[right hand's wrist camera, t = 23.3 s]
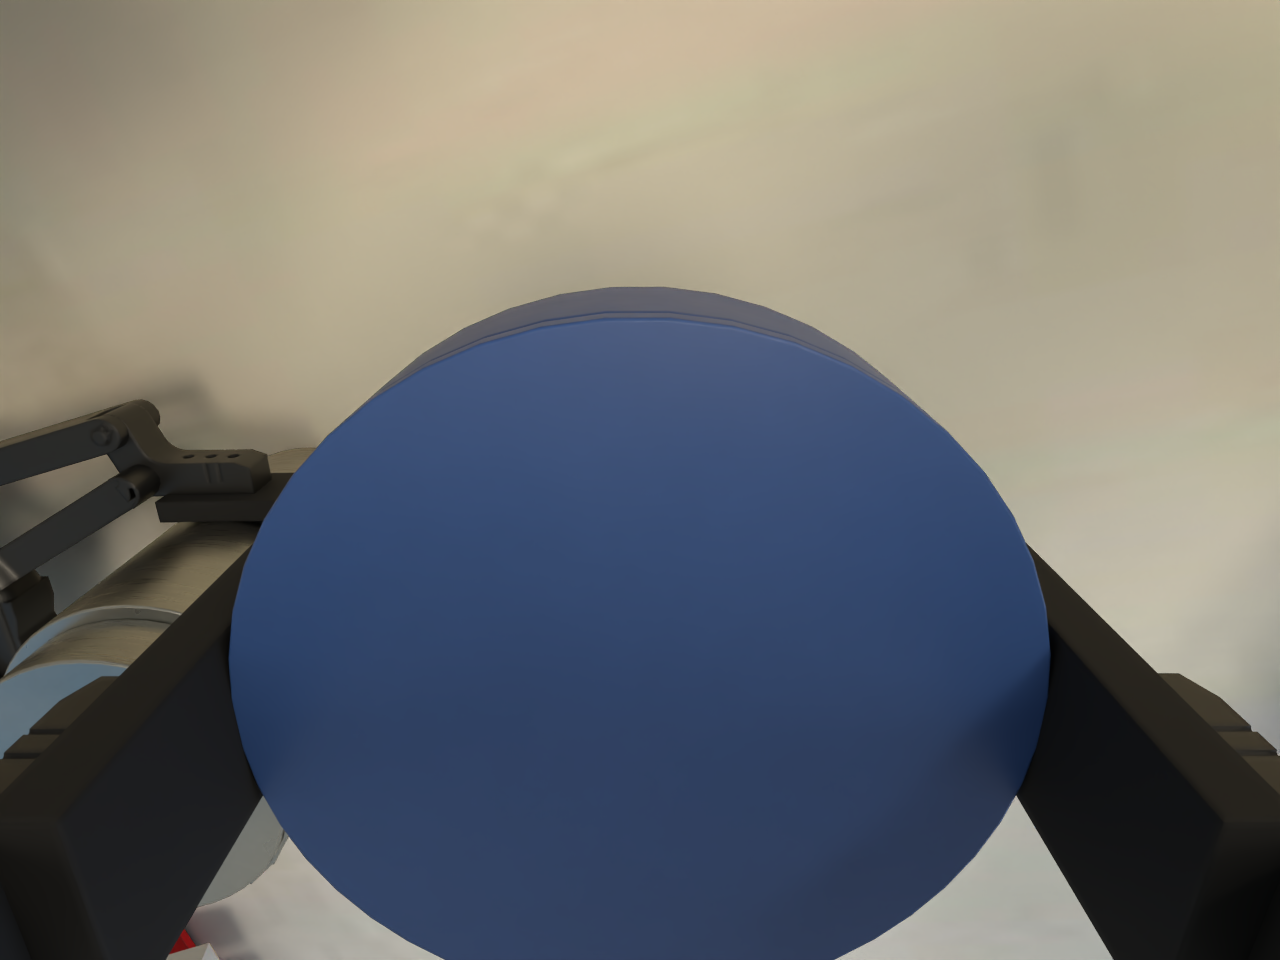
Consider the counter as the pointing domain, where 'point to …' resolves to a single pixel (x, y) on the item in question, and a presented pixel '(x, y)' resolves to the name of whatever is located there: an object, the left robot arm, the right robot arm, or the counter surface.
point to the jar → (141, 649)
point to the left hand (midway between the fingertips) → (378, 620)
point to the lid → (639, 641)
